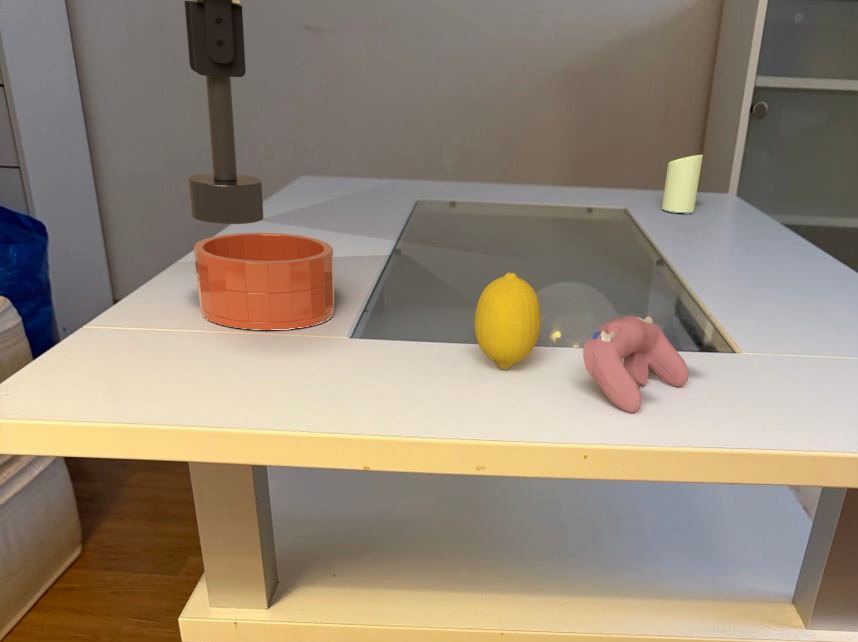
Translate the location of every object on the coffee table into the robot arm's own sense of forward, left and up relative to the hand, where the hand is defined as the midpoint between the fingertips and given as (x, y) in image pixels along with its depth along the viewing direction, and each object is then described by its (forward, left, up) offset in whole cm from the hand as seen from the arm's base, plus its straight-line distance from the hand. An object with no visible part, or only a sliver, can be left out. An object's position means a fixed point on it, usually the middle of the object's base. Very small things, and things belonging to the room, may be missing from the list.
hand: (217, 72), depth 65 cm
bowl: (+6, +20, -22) cm, 30 cm away
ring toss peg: (0, 0, -9) cm, 9 cm away
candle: (+79, +64, -22) cm, 104 cm away
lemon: (+22, -1, -22) cm, 31 cm away
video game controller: (+30, -9, -22) cm, 38 cm away
